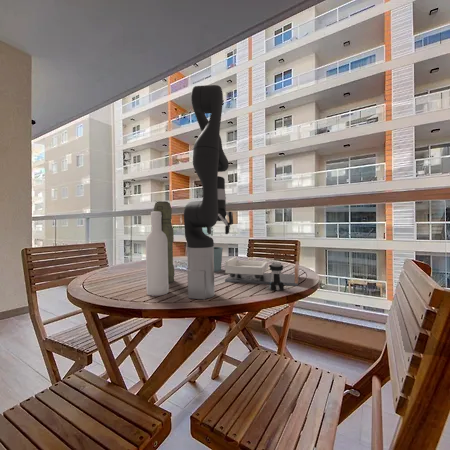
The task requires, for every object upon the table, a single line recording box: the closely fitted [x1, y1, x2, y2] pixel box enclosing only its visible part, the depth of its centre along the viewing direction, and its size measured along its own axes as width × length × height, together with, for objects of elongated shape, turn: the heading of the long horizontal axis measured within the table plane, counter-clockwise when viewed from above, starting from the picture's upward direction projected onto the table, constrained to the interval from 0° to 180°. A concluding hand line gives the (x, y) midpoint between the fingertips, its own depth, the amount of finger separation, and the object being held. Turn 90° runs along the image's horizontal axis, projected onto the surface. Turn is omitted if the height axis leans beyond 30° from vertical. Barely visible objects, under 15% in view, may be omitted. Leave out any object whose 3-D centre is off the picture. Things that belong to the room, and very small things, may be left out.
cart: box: [224, 256, 269, 279], centre depth 116 cm, size 16×16×7 cm
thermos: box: [153, 200, 175, 284], centre depth 111 cm, size 9×12×35 cm
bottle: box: [145, 211, 170, 297], centre depth 94 cm, size 8×8×30 cm
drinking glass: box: [214, 246, 224, 273], centre depth 137 cm, size 10×10×12 cm
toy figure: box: [265, 261, 285, 291], centre depth 96 cm, size 7×5×10 cm
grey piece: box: [224, 261, 300, 287], centre depth 114 cm, size 17×30×7 cm, turn 72°
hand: (218, 234), depth 120 cm, fingers open, 8 cm apart
